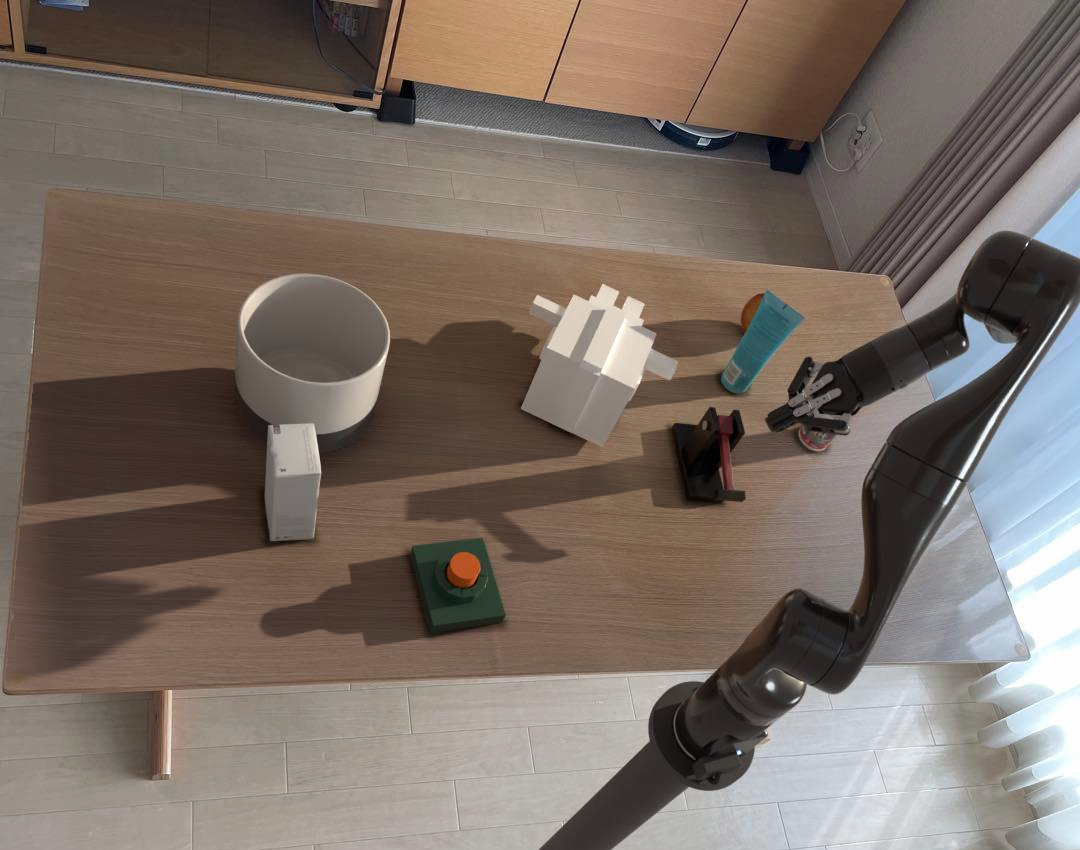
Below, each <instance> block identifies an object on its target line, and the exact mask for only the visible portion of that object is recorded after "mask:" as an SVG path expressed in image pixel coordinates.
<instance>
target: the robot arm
mask: <svg viewBox="0 0 1080 850" xmlns="http://www.w3.org/2000/svg"><path fill="white" fill-rule="evenodd" d="M1079 305H1080V257H1078V256H1076V255H1074V254H1070V253H1068V252H1066V251H1064V250H1061V249H1059V248H1057V247H1054V246H1052V245H1049V244H1047V243H1045V242H1043V241H1040V240H1038V239H1035V238H1032V237H1030V236H1028V235H1025V234H1024V233H1020V232H1016V231H1012V230H1000V231H996V232H995V233H993V234H991V235H989V236H988V237H986V239H984V241H983V242H982V243H981V244H980V245H979V246H978V247H977V249H976V251H975V252H974V254H973V255H972V256H971V259H970V260H969V262H968V264H967V265H966V267H965V269H964V271H963V273H962V274H961V278H960V279H959V282H958V285H957V288H956V293H955V294H953V296H951V297H950V298H949V299H947V300H946V301H944V302H943V303H942V304H941V305H938V306H937V307H935V308H934V309H932V310H930V311H929V312H927V313H925V314H923V315H922V316H920V317H918V318H915V319H914V320H912V321H910V322H908V323H906V324H904V325H902V326H900V327H898V328H895V329H892V330H889V331H887V332H885V333H883V334H881V335H880V336H878V337H876V338H874V339H872V340H870V341H868V342H866V343H864V344H863V345H861V346H859V347H857V348H855V349H853V350H851V351H849V352H848V353H846V354H843V355H842V356H841V357H840V358H839V359H837V360H834V361H827V362H825V363H821V362H818V361H815V360H814V359H813V358H812V356H806V357H804V358H803V360H802V363H801V364H800V365H799V368H798V370H797V371H796V373H795V375H794V377H793V379H792V381H791V382H790V384H789V386H788V388H787V394H788V401H787V402H786V403H785V404H783V405H781V406H779V407H777V408H775V409H774V410H771V411H770V412H768V413H767V416H766V417H765V418H764V421H765V424H766V425H767V427H768V429H769V431H770V432H771V433H775V432H776V433H777V434H778V433H782V432H784V431H786V430H787V429H791V428H792V427H794V426H795V425H798V424H799V425H801V426H805V427H806V428H807V430H808V431H812V432H820V433H828V434H836V435H837V436H845V437H846V436H849V435H850V434H851V429H850V425H851V420H852V417H853V416H855V415H857V414H858V413H859V411H860V410H861V409H862V408H865V407H866V406H870V405H872V404H874V403H876V402H878V401H880V400H882V399H883V398H885V397H888V396H889V395H892V394H893V393H895V392H897V391H899V390H903V389H905V388H906V387H908V386H909V385H911V384H913V383H915V382H916V381H918V380H920V379H921V378H922V377H924V376H925V375H927V374H929V373H930V372H933V371H934V370H936V369H938V368H940V367H942V366H944V365H947V364H948V363H950V362H952V361H955V360H956V359H957V358H959V357H962V356H963V355H964V354H966V353H967V352H968V351H969V349H970V345H971V344H970V338H969V334H968V331H967V328H966V322H965V315H967V316H968V317H969V318H971V319H973V320H974V321H977V322H978V323H980V324H983V325H984V328H985V329H986V331H987V333H988V335H989V336H990V337H991V339H992V340H993V341H994V342H996V343H998V344H1001V345H1002V344H1003V345H1008V344H1009V345H1010V344H1015V345H1014V346H1013V347H1012V348H1011V349H1010V351H1009V352H1008V353H1007V354H1006V355H1004V356H1003V357H1002V358H1001V359H1000V360H998V362H997V363H995V364H994V365H993V366H991V367H990V368H988V369H987V370H986V371H984V373H981V374H980V375H979V376H977V377H976V378H974V379H973V380H972V381H970V382H968V383H967V384H965V385H964V386H962V387H959V388H958V389H956V390H955V391H953V392H951V393H949V394H947V395H945V396H944V397H942V398H939V399H938V400H936V401H934V402H931V403H930V404H928V405H925V406H924V407H923V408H920V409H919V410H917V411H915V412H914V413H911V414H910V415H909V416H907V417H905V418H904V419H903V420H902V421H901V422H899V423H897V425H896V426H895V427H894V428H892V430H891V432H890V433H889V434H888V437H887V438H886V440H885V442H884V443H883V445H882V447H881V449H880V451H878V453H877V456H876V457H875V458H874V460H873V463H872V464H871V466H870V468H869V470H868V471H867V472H866V475H865V477H864V479H863V483H862V487H861V500H860V501H861V522H862V523H861V524H862V533H863V534H862V535H863V550H864V551H863V552H864V555H863V568H862V569H863V571H862V577H861V580H860V584H859V588H858V591H857V593H856V595H855V598H854V600H853V602H852V604H851V606H850V608H849V609H848V610H847V609H845V608H843V607H841V606H838V605H837V604H834V603H833V602H831V601H828V600H827V599H825V598H823V597H820V596H819V595H817V594H815V593H813V592H810V591H809V590H806V589H804V588H794V589H792V590H789V591H788V592H786V593H785V594H783V595H782V597H780V599H778V601H776V603H775V604H774V605H773V606H772V607H771V609H770V610H769V611H768V613H767V614H766V615H765V616H764V617H763V619H762V620H761V621H759V623H758V624H757V625H756V626H755V627H754V628H753V629H752V630H751V632H750V633H749V634H748V635H747V636H746V637H745V639H744V640H743V642H742V643H741V645H740V646H739V647H738V648H737V649H736V650H735V651H734V652H733V653H732V654H731V655H730V656H729V657H728V658H727V659H726V660H725V661H724V662H723V663H722V664H721V665H720V666H719V667H718V668H717V669H716V670H715V671H713V673H712V674H711V675H710V676H709V677H708V678H707V679H706V680H705V681H703V682H704V683H703V684H702V685H701V686H700V687H697V688H695V689H694V690H693V691H692V692H694V691H695V692H694V693H693V694H692V695H691V696H690V697H689V698H688V699H687V700H686V701H684V702H683V703H682V704H681V705H680V706H679V707H678V708H677V709H676V711H675V713H674V715H673V718H672V733H673V737H674V740H675V742H676V744H677V746H678V748H679V749H680V750H681V752H682V753H683V754H684V755H685V756H686V757H687V758H689V759H690V760H691V761H693V762H694V764H693V765H692V768H693V771H694V774H695V777H696V779H697V780H701V779H706V780H707V781H708V782H709V783H711V784H712V785H717V784H718V783H719V782H720V780H721V777H722V775H723V774H727V773H731V772H733V771H734V770H735V769H737V768H738V767H739V766H741V765H742V764H741V761H740V759H739V758H741V757H742V756H743V755H745V754H746V753H747V752H748V751H750V750H751V749H752V748H754V747H755V748H756V746H758V745H759V744H760V743H761V742H762V741H764V740H765V739H767V738H768V736H769V733H768V729H769V728H770V727H771V726H773V725H774V724H776V722H778V721H779V720H781V718H783V717H784V716H786V714H788V713H789V712H790V711H792V710H794V708H796V707H797V706H798V705H799V704H800V702H801V701H802V700H803V698H804V696H805V693H806V691H807V686H810V687H812V688H814V689H816V690H818V691H820V692H822V693H825V694H828V695H831V696H832V695H833V696H835V695H839V694H841V693H843V692H845V691H846V690H847V689H848V688H849V687H850V686H851V685H852V684H853V682H854V681H855V680H856V679H857V678H858V676H859V674H860V673H861V671H862V670H863V668H864V666H865V665H866V663H867V661H868V659H869V658H870V655H871V653H872V651H873V650H874V648H875V646H876V644H877V641H878V640H879V638H880V636H881V634H882V631H884V628H885V626H886V624H887V621H888V620H889V618H890V616H891V614H892V612H893V610H894V608H895V606H896V603H897V601H898V600H899V598H900V597H901V594H902V592H903V590H904V588H905V587H906V585H907V582H908V581H909V579H910V577H911V576H912V574H913V572H914V571H915V569H916V567H917V566H918V564H919V562H920V560H921V559H922V557H923V555H924V554H925V552H926V551H927V549H928V547H929V546H930V544H931V543H932V541H933V539H934V538H935V536H936V535H937V533H938V531H939V530H940V529H941V527H942V526H943V524H944V523H945V521H946V519H947V518H948V516H949V515H950V513H951V512H952V509H953V508H954V507H955V506H956V503H957V502H958V500H959V498H960V497H961V495H962V493H963V492H964V490H965V488H966V487H967V485H968V483H969V482H970V480H971V478H972V476H973V475H974V473H975V471H976V469H977V468H978V466H979V464H980V462H981V460H982V459H983V457H984V455H985V453H986V452H987V449H988V448H989V446H990V444H991V442H992V441H993V439H994V437H995V435H996V433H997V431H998V429H999V428H1000V427H1001V425H1002V423H1003V421H1004V419H1005V418H1006V416H1007V415H1008V413H1009V411H1010V410H1011V408H1012V406H1013V405H1014V404H1015V402H1016V400H1017V399H1018V397H1019V395H1020V394H1021V393H1022V391H1023V390H1024V388H1025V386H1026V385H1027V384H1028V382H1029V381H1030V380H1031V377H1032V376H1033V375H1034V374H1035V372H1036V371H1037V369H1038V367H1040V364H1041V363H1042V361H1043V360H1044V359H1045V357H1046V355H1047V354H1048V353H1049V352H1050V350H1051V348H1052V347H1053V345H1054V344H1055V343H1056V341H1057V340H1058V338H1059V336H1061V333H1062V332H1063V330H1064V329H1065V328H1066V326H1067V325H1068V323H1069V321H1070V320H1071V318H1072V317H1073V316H1074V314H1075V312H1076V311H1077V309H1078V307H1079ZM812 378H814V379H813V381H812V383H811V384H810V385H809V382H810V381H811V379H812ZM826 414H828V415H838V416H837V417H835V418H834V419H826V418H819V417H822V416H824V415H826ZM692 692H691V693H692ZM714 776H715V778H713V777H714Z"/></svg>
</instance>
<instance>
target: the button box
mask: <svg viewBox="0 0 1080 850" xmlns="http://www.w3.org/2000/svg"><path fill="white" fill-rule="evenodd" d="M485 543H486V542H485V539H484V538H483V537H479V538H470V539H469V538H468V539H459V540H452V541H451V540H450V541H442V542H434V543H433V542H432V543H425V544H424V543H423V544H416V545H414V544H413V545H412V546H411V550H410V552H409V556H410V560H411V563H412V567H413V571H414V575H415V580H416V583H417V588H418V591H419V595H420V599H421V603H422V607H423V611H424V616H425V619H426V623H427V627H428V630H429V633H430V634H432V633H440V632H446V631H453V630H459V629H467V628H474V627H479V626H480V627H481V626H487V625H495V624H501V623H503V622H504V619H505V618H506V615H507V614H506V610H505V608H504V604H503V600H502V597H501V594H500V590H499V586H498V584H497V580H496V577H495V574H494V569H493V567H492V563H491V561H490V557H489V553H488V550H487V547H486V544H485ZM461 552H467V553H470V554H472V555H474V556H475V557H476V558H477V559H478V561H479V563H480V572H479V574H478V576H477V578H476V580H475V582H474V584H473V585H472V586H470V587H468V588H458V587H455V586H454V585H452V584H451V583H450V582H449V580H448V578H447V575H446V572H447V568H448V566H449V563H450V561H451V559H452V557H453V556H454V555H456V554H457V553H461Z"/></svg>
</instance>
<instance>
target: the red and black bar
mask: <svg viewBox="0 0 1080 850" xmlns="http://www.w3.org/2000/svg"><path fill="white" fill-rule="evenodd" d="M717 416H718V421H719V425H720V429H721V431H720V433H719V434H718V436H717V437H716V438H718V439H719V445H720V454H721V464H722V466H721V473H722V484H723V489H716V490H715V491H714V500H722V501H723V502H734V503H735V502H736V503H737V502H738V503H742V502H745V500H746V499H747V497H746V491H745V490H738V489H735V486H734V485H735V484H734V477H733V468H732V458H731V457H732V456H731V453H730V448H729V439H728V437H729V436H731V435H732V434H733V424H732V416H730V415H725V414H717Z"/></svg>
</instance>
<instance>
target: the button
mask: <svg viewBox="0 0 1080 850" xmlns="http://www.w3.org/2000/svg"><path fill="white" fill-rule="evenodd" d="M479 572H480V563H479V561H478V559H477V558H476V557H475V556H474V555H472V554H470V553H467V552H461V553H457V554H456V555H454V556H453V557H452V559H451V561H450V563H449V566H448V568H447V572H446V575H447V578H448V580H449V582H450V583H451V584H452V585H454V586H455V587H458V588H468V587H470V586H472V585H473V584H474V582H475V580H476V578H477V576H478V574H479Z"/></svg>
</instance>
